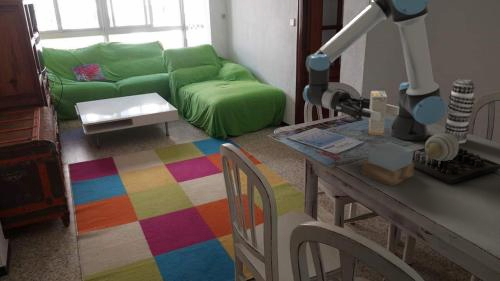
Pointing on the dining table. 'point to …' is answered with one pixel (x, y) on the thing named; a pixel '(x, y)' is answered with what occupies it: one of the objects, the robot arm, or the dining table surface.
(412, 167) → the tower base block
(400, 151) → the tower top block
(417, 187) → the dining table surface
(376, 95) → the supplement box
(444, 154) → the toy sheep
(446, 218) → the dining table surface
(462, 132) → the decorative candle
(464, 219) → the dining table surface
